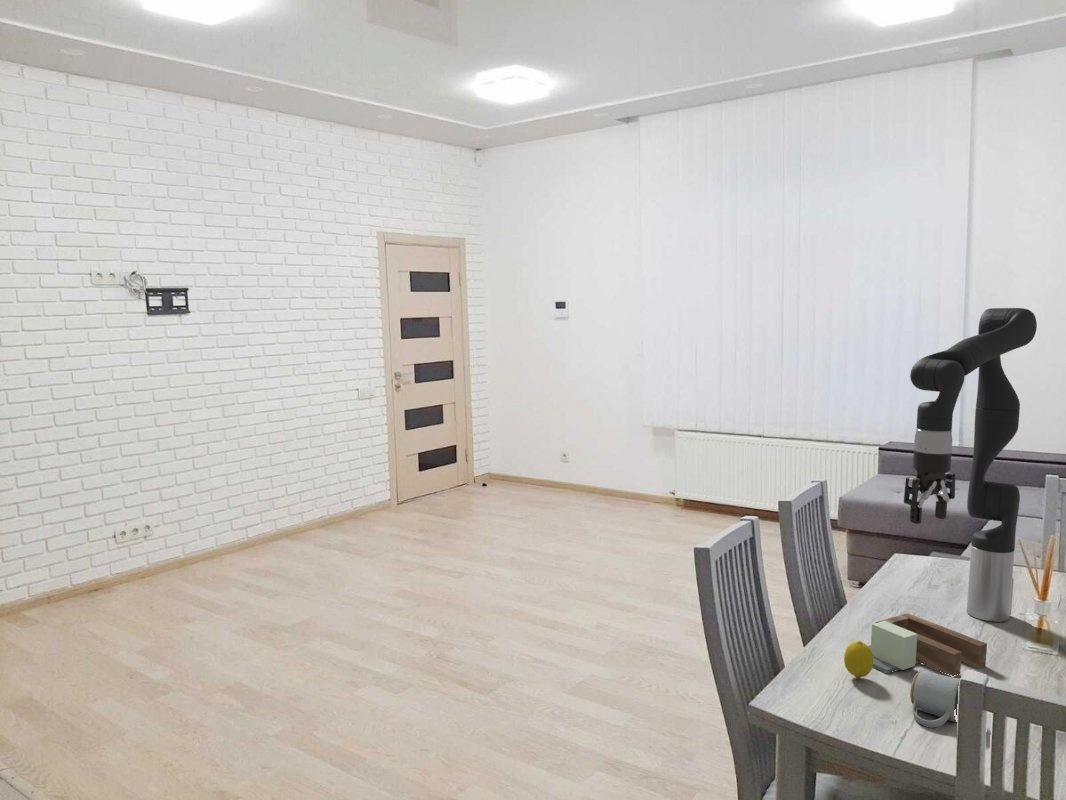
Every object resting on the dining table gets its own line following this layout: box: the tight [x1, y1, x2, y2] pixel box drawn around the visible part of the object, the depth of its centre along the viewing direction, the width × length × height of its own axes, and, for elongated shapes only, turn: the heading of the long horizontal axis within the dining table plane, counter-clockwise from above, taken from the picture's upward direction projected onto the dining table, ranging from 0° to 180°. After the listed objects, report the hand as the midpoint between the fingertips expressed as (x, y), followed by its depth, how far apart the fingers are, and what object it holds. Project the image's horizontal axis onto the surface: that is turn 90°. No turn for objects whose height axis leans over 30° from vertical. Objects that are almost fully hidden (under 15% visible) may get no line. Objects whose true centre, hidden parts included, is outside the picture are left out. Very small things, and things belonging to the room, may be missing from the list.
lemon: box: [843, 640, 874, 679], centre depth 165 cm, size 6×6×8 cm
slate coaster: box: [867, 644, 919, 674], centre depth 174 cm, size 10×10×1 cm
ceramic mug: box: [910, 671, 961, 728], centre depth 150 cm, size 11×8×8 cm
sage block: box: [870, 621, 917, 671], centre depth 172 cm, size 4×8×7 cm, turn 28°
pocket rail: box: [875, 612, 988, 676], centre depth 177 cm, size 11×19×5 cm, turn 28°
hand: (928, 520), depth 181 cm, fingers open, 8 cm apart
